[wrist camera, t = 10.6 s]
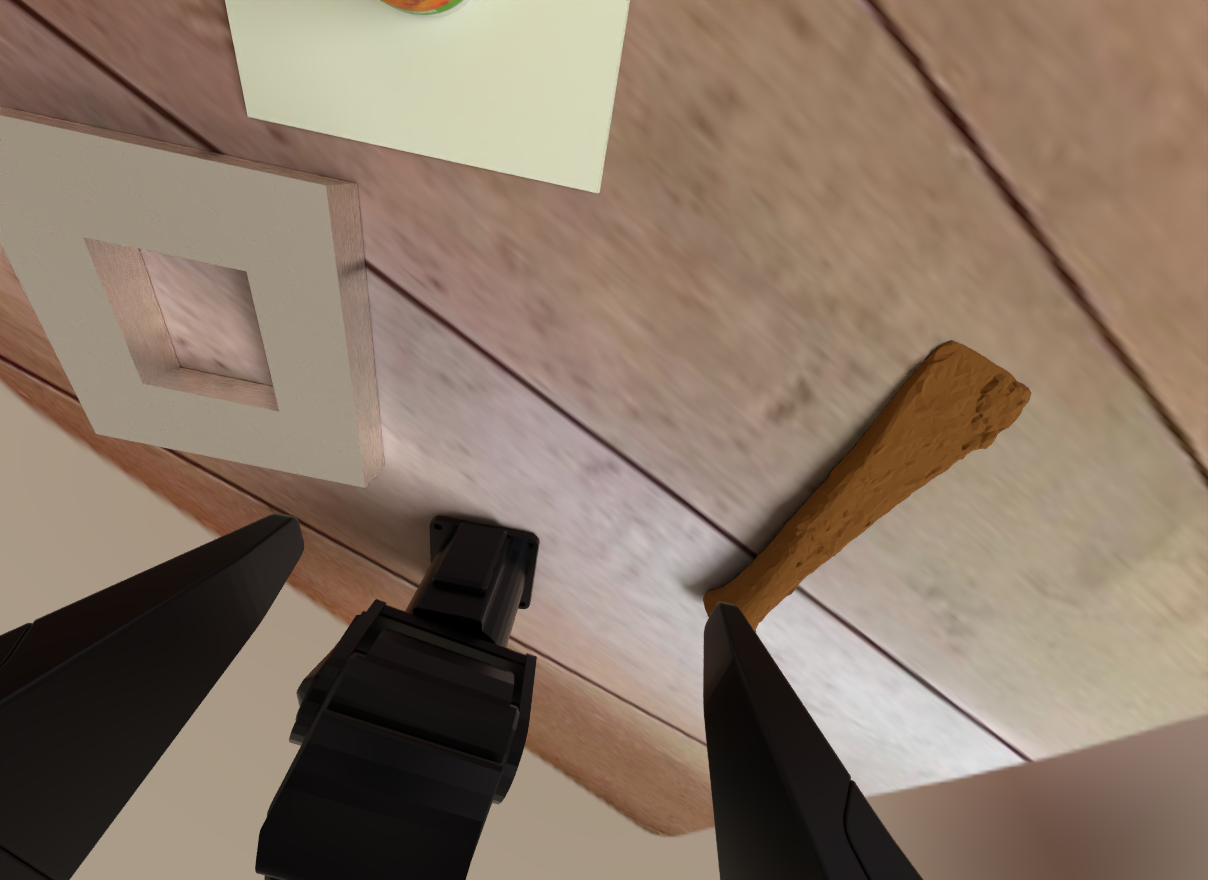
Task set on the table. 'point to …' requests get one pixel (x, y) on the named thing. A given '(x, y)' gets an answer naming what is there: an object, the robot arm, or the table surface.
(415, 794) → the robot arm
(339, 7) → the sage pad
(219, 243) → the post foot
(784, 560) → the primitive tool
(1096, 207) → the table surface
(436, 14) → the supplement bottle
